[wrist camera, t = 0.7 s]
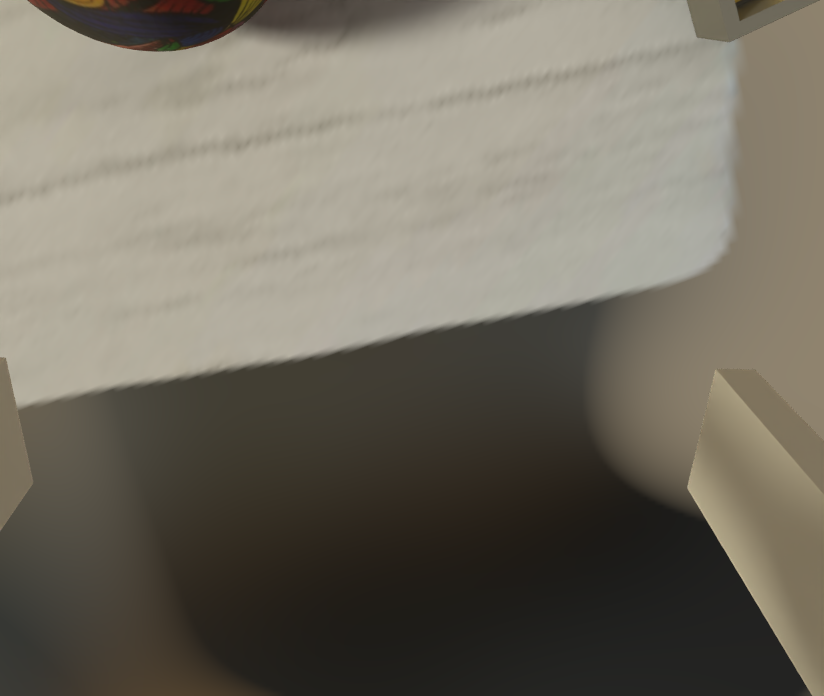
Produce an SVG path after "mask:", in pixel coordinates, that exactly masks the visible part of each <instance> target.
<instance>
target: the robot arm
mask: <svg viewBox="0 0 824 696" xmlns="http://www.w3.org/2000/svg"><path fill="white" fill-rule="evenodd" d="M32 484H33V479H32V474H31V470H30V465H29V461H28V456H27V452H26V448H25V443H24V438H23V434H22V430H21V425H20V420H19V416H18V411H17V406H16V402H15V397H14V393H13V388H12V384H11V379H10V375H9V370H8V366H7V361H6V358H0V530H1V529H2V527H3V526H4V524H5V523H6V522H7V520H8V519H9V517H10V516H11V514H12V513H13V512H14V510H15V508H16V507H17V506H18V504H19V503H20V501H21V500H22V498H23V497H24V495H25V494H26V493H27V491H28V490H29V488H30V487H31V485H32ZM687 488H688V490H689V492H690V493H691V495H692V497H693V498H694V500H695V502H696V503H697V505H698V507H699V508H700V510H701V512H702V513H703V515H704V517H705V518H706V520H707V522H708V523H709V525H710V527H711V528H712V530H713V532H714V533H715V535H716V537H717V538H718V540H719V541H720V543H721V545H722V547H723V548H724V550H725V551H726V553H727V555H728V556H729V558H730V560H731V561H732V563H733V565H734V566H735V568H736V570H737V571H738V573H739V575H740V576H741V578H742V580H743V581H744V583H745V584H746V586H747V588H748V590H749V591H750V593H751V595H752V596H753V598H754V600H755V601H756V603H757V605H758V606H759V608H760V609H761V611H762V613H763V615H764V616H765V618H766V620H767V621H768V623H769V624H770V626H771V628H772V629H773V631H774V633H775V634H776V636H777V638H778V639H779V641H780V643H781V644H782V646H783V648H784V649H785V651H786V653H787V654H788V656H789V658H790V659H791V661H792V662H793V664H794V666H795V668H796V669H797V671H798V672H799V674H800V676H801V678H802V679H803V681H804V683H805V684H806V686H807V688H808V689H809V691H810V693H811V694H812V696H824V441H823V440H822V439H821V438H820V437H819V436H818V435H817V434H816V432H815V431H814V430H813V429H812V428H811V427H810V426H808V424H807V423H806V422H805V421H804V420H803V419H802V418H801V417H800V416H799V415H798V414H797V413H796V412H795V411H794V410H793V409H792V407H790V406H789V404H788V403H787V402H786V401H785V400H784V399H783V398H782V397H781V396H780V395H779V394H778V393H777V392H776V391H775V390H774V389H773V388H772V387H771V386H770V385H769V384H768V382H766V380H765V379H764V378H763V377H762V376H761V375H760V374H759V373H758V372H757V371H756V370H749V369H748V370H747V369H716V370H715V374H714V378H713V383H712V387H711V391H710V395H709V399H708V403H707V408H706V412H705V416H704V420H703V424H702V428H701V432H700V437H699V441H698V445H697V449H696V453H695V458H694V462H693V466H692V470H691V474H690V479H689V483H688V487H687Z"/></svg>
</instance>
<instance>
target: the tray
mask: <svg viewBox="0 0 824 696" xmlns="http://www.w3.org/2000/svg"><path fill="white" fill-rule="evenodd" d="M816 1H819V0H687V2H688V6H689V10H690V13H691V17H692V21H693V24H694V28H695V32H696V35H697V37H698V38H705V39H711V40H718V41H725V42H731V41H733V40H735V39H737V38H739V37H742V36H744V35H746V34H748V33H750V32H752V31H754V30H757V29H758V28H761V27H763V26H765V25H767V24H769V23H771V22H774V21H776V20H778V19H780V18H782V17H784V16H787V15H789V14H791V13H793V12H795V11H797V10H799V9H802V8H804V7H806V6H808V5H810V4H812V3H814V2H816Z"/></svg>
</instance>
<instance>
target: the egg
mask: <svg viewBox="0 0 824 696" xmlns="http://www.w3.org/2000/svg"><path fill="white" fill-rule="evenodd" d="M28 1H29V2H30V3H31V4H33V5H34V6H35V7H37V8H38V9H39V10H41V11H42V12H44V13H45V14H47V15H48V16H50V17H51V18H53V19H54V20H56V21H57V22H59V23H61V24H62V25H64V26H66V27H68V28H70V29H72V30H74V31H76V32H78V33H80V34H83V35H85V36H87V37H90V38H92V39H94V40H97V41H101V42H104V43H107V44H111V45H114V46H118V47H122V48H127V49H133V50H141V51H176V50H183V49H188V48H193V47H197V46H201V45H204V44H206V43H209V42H212V41H214V40H217V39H219V38H221V37H223V36H225V35H227V34H229V33H230V32H232V31H234V30H235V29H237V28H238V27H240V26H241V25H243V24H244V23H245V22H246V21H247V20H249V19H250V18H251V17H252V16H253V15H254V14H255V13H256V12H257V11H258V10H259V9H260V8H261V7H262V6H263V4H264V3H265V2H266V1H267V0H28Z"/></svg>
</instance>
